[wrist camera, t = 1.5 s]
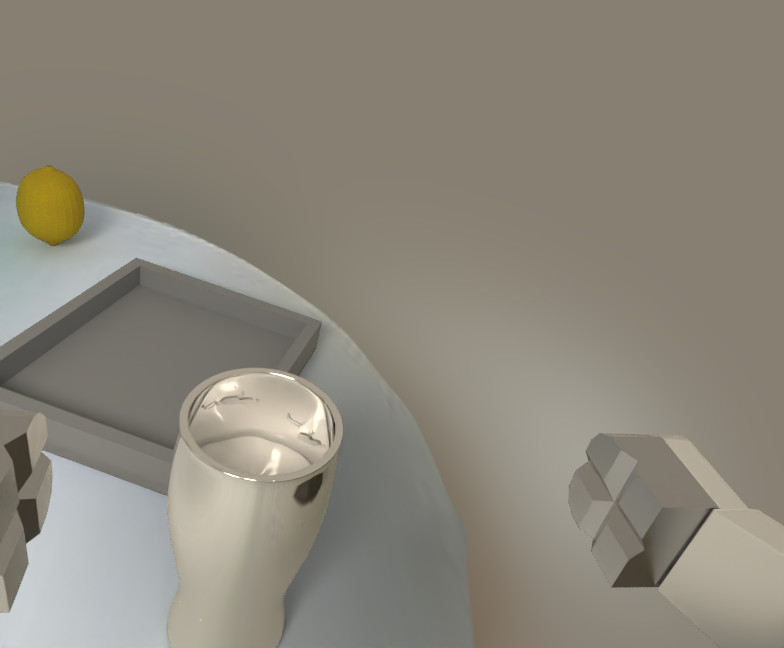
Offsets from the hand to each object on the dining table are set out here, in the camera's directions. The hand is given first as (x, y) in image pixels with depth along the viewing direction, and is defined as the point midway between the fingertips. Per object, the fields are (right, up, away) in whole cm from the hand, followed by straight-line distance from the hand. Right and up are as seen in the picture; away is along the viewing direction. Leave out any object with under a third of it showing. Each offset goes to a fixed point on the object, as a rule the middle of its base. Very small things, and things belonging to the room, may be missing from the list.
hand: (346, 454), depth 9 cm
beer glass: (-8, -14, +23) cm, 28 cm away
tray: (-17, -2, +37) cm, 41 cm away
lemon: (-32, +10, +49) cm, 59 cm away
